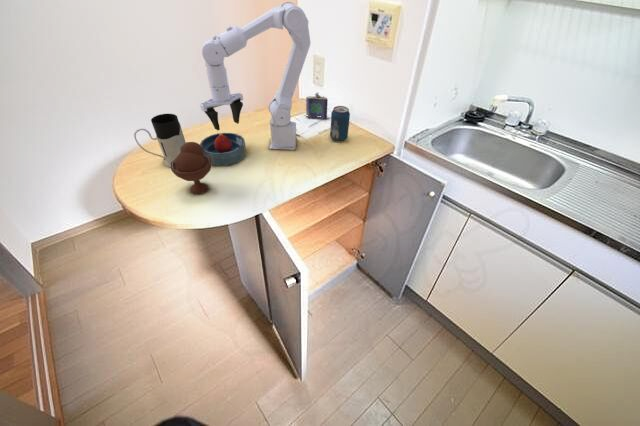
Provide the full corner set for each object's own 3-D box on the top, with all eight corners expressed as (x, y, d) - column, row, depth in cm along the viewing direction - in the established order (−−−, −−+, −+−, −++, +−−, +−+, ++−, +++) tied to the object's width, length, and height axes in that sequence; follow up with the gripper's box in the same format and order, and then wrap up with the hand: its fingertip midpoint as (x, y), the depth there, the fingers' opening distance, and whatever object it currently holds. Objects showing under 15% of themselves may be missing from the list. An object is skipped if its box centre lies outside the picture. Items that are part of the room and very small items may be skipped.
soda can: (346, 134, 118) (349, 105, 110) (348, 143, 113) (351, 113, 105) (329, 134, 118) (331, 105, 110) (330, 142, 112) (332, 112, 104)
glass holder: (196, 161, 100) (183, 119, 90) (153, 176, 93) (134, 132, 83) (186, 151, 104) (173, 110, 94) (144, 164, 97) (125, 122, 87)
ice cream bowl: (184, 179, 92) (170, 135, 82) (220, 178, 93) (210, 135, 83) (175, 200, 84) (157, 155, 74) (214, 199, 85) (202, 154, 75)
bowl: (250, 145, 109) (248, 133, 106) (242, 167, 98) (239, 154, 95) (210, 144, 109) (207, 132, 105) (197, 166, 98) (193, 153, 94)
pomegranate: (235, 150, 105) (232, 129, 100) (230, 159, 101) (226, 137, 95) (220, 149, 105) (215, 128, 100) (214, 157, 101) (209, 136, 96)
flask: (305, 118, 128) (305, 93, 121) (306, 115, 131) (306, 91, 124) (326, 119, 128) (327, 95, 121) (327, 117, 130) (328, 92, 123)
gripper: (204, 93, 85) (214, 136, 94) (246, 82, 93) (251, 123, 102) (192, 87, 88) (203, 129, 97) (233, 77, 96) (239, 117, 105)
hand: (227, 125), depth 100 cm, fingers open, 7 cm apart
